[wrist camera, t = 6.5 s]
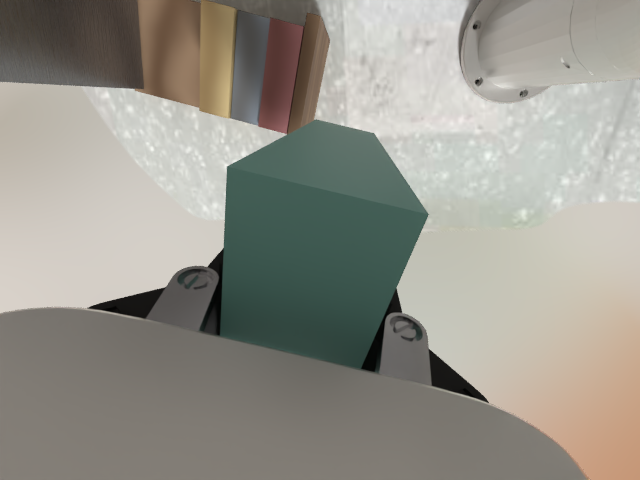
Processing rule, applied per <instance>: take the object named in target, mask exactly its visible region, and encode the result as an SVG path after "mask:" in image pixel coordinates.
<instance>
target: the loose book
mask: <svg viewBox="0 0 640 480" xmlns="http://www.w3.org/2000/svg"><path fill="white" fill-rule="evenodd" d="M428 215H429V214H428V213H427V211H426V210H425V208H424V207H423V205H422V204H421V203H420V201H419V200H418V198H417V197H416V195H415V194H414V192H413V191H412V189H411V188H410V186H409V185H408V183H407V182H406V180H405V179H404V177H403V176H402V174H401V173H400V171H399V170H398V168H397V167H396V165H395V164H394V162H393V161H392V159H391V158H390V157H389V155H388V154H387V152H386V151H385V149H384V148H383V146H382V145H381V143H380V142H379V140H378V139H377V137H376V136H375V134H374V133H370V132H366V131H362V130H358V129H353V128H349V127H345V126H341V125H337V124H333V123H328V122H324V121H320V120H314V121H312V122H310V123H309V124H307V125H305V126H303V127H301V128H299V129H297V130H295V131H293V132H292V133H290V134H288V135H286V136H284V137H282V138H280V139H278V140H276V141H275V142H273V143H271V144H269V145H267V146H265V147H263V148H261V149H260V150H258V151H256V152H254V153H252V154H250V155H248V156H246V157H244V158H243V159H241V160H239V161H237V162H235V163H233V164H231V165H229V166H227V183H226V207H225V231H224V255H223V279H222V303H221V327H220V336H223V337H227V338H231V339H236V340H240V341H245V342H249V343H253V344H257V345H262V346H266V347H270V348H275V349H279V350H283V351H287V352H292V353H296V354H300V355H304V356H309V357H313V358H317V359H321V360H326V361H330V362H334V363H338V364H342V365H347V366H351V367H355V368H359V369H361V367H362V365H363V362H364V360H365V358H366V356H367V353H368V351H369V349H370V347H371V344H372V342H373V340H374V337H375V335H376V333H377V331H378V328H379V326H380V324H381V322H382V319H383V317H384V315H385V312H386V310H387V308H388V306H389V303H390V301H391V299H392V297H393V294H394V292H395V290H396V287H397V285H398V283H399V281H400V278H401V276H402V274H403V271H404V269H405V267H406V265H407V262H408V260H409V258H410V256H411V253H412V251H413V249H414V246H415V244H416V242H417V240H418V237H419V235H420V233H421V231H422V228H423V226H424V224H425V221H426V219H427V217H428Z"/></svg>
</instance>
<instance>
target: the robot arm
mask: <svg viewBox="0 0 640 480" xmlns="http://www.w3.org/2000/svg"><path fill="white" fill-rule="evenodd" d="M473 25H476V29H475V30H473ZM461 67H462V71H463V75H464V78H465V80H466V82H467V84H468V86H469V87H470V88H471V89H472V90H473V92H474V93H475V94H477V95H478V96H480V97H481V98H483V99H485V100H488V101H490V102H495V103H515V102H521V101H524V100H527V99H530V98H532V97H534V96H536V95H538V94H540V93H542V92H544V91H545V90H547V89H548V88H549V87H551V86H553V85H567V84H581V83H594V82H608V81H621V80H633V79H640V0H481V1H480V3H479V4H478V6H477V7H476V9H475V11H474V12H473V14H472V15H471V18H470V20H469V22H468V24H467V27H466V29H465V33H464V36H463V40H462V46H461ZM476 79H477V80H478V83H477V84H475V80H476ZM520 92H522V94H521V95H520ZM223 255H224V248H223V250H222V251H221V252H220V253H219V254H218V255H217V256H216V258H215V259H214V260H213V261H212V262H211V263H210V264H209V266H208V267H204V266H192V267H187V268H184V269H182V270H180V271H178V272H177V273H176V274H175V275H174V276H173V277H172V279H171V280H170V282H169V283H168V285H167V286H166V287H165V288H161V289H157V290H153V291H149V292H144V293H140V294H136V295H133V296H128V297H124V298H120V299H116V300H112V301H107V302H104V303H100V304H97V305H93V306H91V307H89V308H87V309H86V308H72V307H47V308H30V309H22V310H15V311H9V312H4V313H0V480H591V479H590V478H589V477H588V476H587V474H586V473H585V472H584V470H583V469H582V468H581V467H580V466H579V464H578V463H577V462H576V461H575V459H574V458H573V457H572V456H571V455H570V454H569V453H568V452H567V451H566V450H565V449H564V448H563V447H562V446H561V445H560V444H559V443H558V442H556V441H555V440H554V439H552V438H551V437H550V436H548V435H547V434H546V433H544V432H543V431H541V430H540V429H538V428H537V427H535V426H534V425H532V424H530V423H528V422H527V421H525V420H523V419H521V418H520V417H518V416H516V415H514V414H512V413H510V412H508V411H506V410H503V409H501V408H499V407H497V406H495V405H493V404H490V403H489V402H488V401H487V399H486V398H485V397H484V396H483V395H482V394H481V393H480V392H479V391H478V390H476V389H475V388H474V387H473V386H472V385H471V384H469V383H468V382H467V381H466V380H465V379H463V378H462V377H461V376H460V375H459V374H458V373H456V372H455V371H454V370H453V369H452V368H451V367H450V366H448V365H447V364H446V363H445V362H444V361H442V360H441V359H440V358H439V357H438V356H437V355H435V354H434V353H433V352H432V351H431V350H430V349H429V348H428V337H427V333H426V330H425V329H424V327H423V326H422V324H421V323H420V322H419V321H417V320H416V319H414V318H413V317H411V316H409V315H407V314H403V313H402V310H401V306H400V301H399V297H398V293H397V289H396V290H395V292H394V294H393V297H392V299H391V301H390V303H389V306H388V308H387V310H386V312H385V315H384V317H383V319H382V322H381V324H380V326H379V328H378V331H377V333H376V335H375V337H374V340H373V342H372V344H371V347H370V349H369V351H368V353H367V356H366V358H365V360H364V362H363V365H362V367H361V369H359V368H355V367H351V366H347V365H342V364H338V363H334V362H330V361H326V360H321V359H317V358H313V357H309V356H304V355H300V354H296V353H292V352H287V351H283V350H279V349H275V348H270V347H266V346H262V345H257V344H253V343H249V342H245V341H240V340H236V339H231V338H227V337H223V336H220V327H221V303H222V279H223Z"/></svg>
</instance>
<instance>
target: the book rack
mask: <svg viewBox="0 0 640 480" xmlns="http://www.w3.org/2000/svg"><path fill="white" fill-rule="evenodd" d="M137 2H138V15H139V28H140V41H141V55H142V68H143V81H144V89H135V91H138V92H142V93H146V94H150V95H154V96H157V97H161V98H165V99H169V100H173V101H176V102H180V103H184V104H188V105H191V106H195V107H199V108H200V111H202V112H206V113H209V114H213V115H217V116H221V117H225V118H231V119H235V120H239V121H243V122H247V123H250V124H254V125H258V126H259V127H262V128H266V129H270V130H274V131H278V132H281V133H285V134H287V135H288V134H290V133H292V132H293V131H295V130H297V129H299V128H301V127H303V126H305V125H307V124H309V123H310V122H312V121H314V116H315V112H316V107H317V102H318V97H319V92H320V87H321V82H322V77H323V72H324V67H325V62H326V57H327V52H328V48H329V43H330V39H329V37H328V34H327V31H326V29H325V26H324V23H323V21H322V18H321V16H318V15H315V14H311V13H307V16H306V22H305V28H304V26H300V25H296V24H292V23H289V22H285V21H281V20H278V19H274V18H266V17H262V16H259V15H255V14H251V13H247V12H244V11H240V10H237V9H235V8H233V7H229V6H226V5H222V4H218V3H215V2H211V1H207V0H201V3H198V2H194V1H191V0H137Z"/></svg>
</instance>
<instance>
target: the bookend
mask: <svg viewBox="0 0 640 480" xmlns="http://www.w3.org/2000/svg"><path fill="white" fill-rule="evenodd" d="M0 82H16V83H17V82H18V83H35V84H54V85H73V86H74V85H75V86H92V87H111V88H130V89H144V81H143V68H142V55H141V41H140V28H139V15H138V2H137V0H0Z"/></svg>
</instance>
